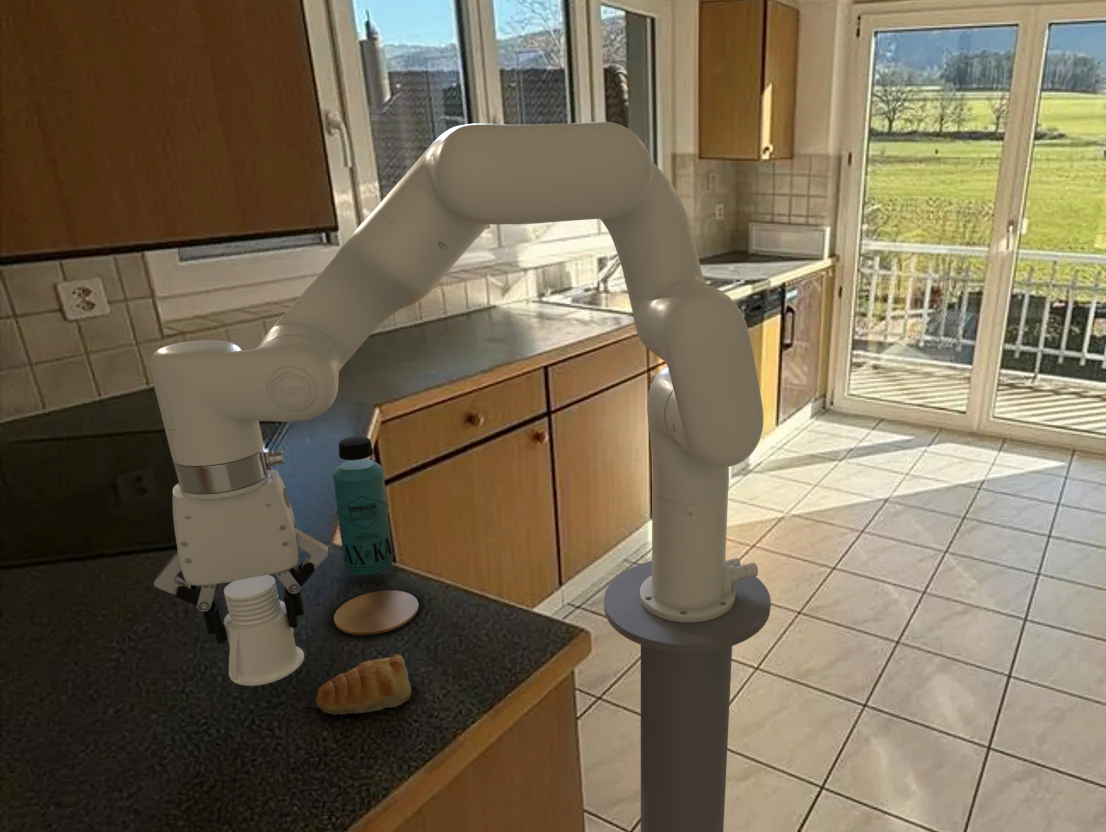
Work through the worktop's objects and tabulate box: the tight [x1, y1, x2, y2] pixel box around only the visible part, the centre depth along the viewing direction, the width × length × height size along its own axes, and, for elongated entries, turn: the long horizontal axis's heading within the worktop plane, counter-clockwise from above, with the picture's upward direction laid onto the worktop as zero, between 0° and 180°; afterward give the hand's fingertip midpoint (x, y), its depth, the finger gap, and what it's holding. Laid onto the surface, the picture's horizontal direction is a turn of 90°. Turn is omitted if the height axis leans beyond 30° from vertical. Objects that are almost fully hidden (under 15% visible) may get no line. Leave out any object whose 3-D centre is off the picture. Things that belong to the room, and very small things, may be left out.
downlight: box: [223, 574, 305, 687], centre depth 82 cm, size 8×7×10 cm
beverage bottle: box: [332, 436, 395, 576], centre depth 107 cm, size 6×7×20 cm
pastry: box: [315, 653, 412, 716], centre depth 85 cm, size 9×7×4 cm
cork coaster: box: [333, 589, 420, 636], centre depth 101 cm, size 10×10×1 cm
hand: (259, 627), depth 82 cm, fingers closed on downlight, 5 cm apart
